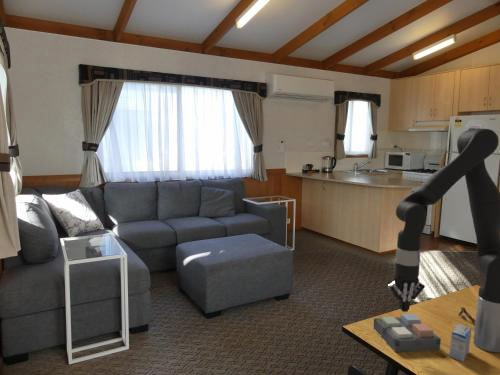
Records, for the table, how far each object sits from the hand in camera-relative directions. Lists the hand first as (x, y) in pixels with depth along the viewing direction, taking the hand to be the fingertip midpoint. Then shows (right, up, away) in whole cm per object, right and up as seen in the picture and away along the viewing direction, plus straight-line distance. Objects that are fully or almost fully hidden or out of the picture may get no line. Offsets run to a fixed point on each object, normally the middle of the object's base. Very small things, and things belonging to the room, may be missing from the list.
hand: (404, 310), depth 131 cm
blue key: (+6, -8, +10) cm, 14 cm away
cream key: (0, -9, +1) cm, 10 cm away
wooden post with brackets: (+33, -11, +21) cm, 41 cm away
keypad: (+3, -12, +6) cm, 14 cm away
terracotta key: (+7, -9, +2) cm, 11 cm away
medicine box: (+17, -14, -3) cm, 22 cm away
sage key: (-1, -8, +9) cm, 12 cm away
